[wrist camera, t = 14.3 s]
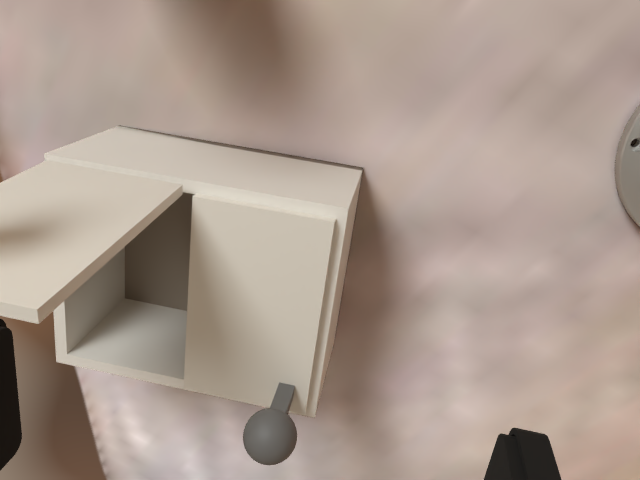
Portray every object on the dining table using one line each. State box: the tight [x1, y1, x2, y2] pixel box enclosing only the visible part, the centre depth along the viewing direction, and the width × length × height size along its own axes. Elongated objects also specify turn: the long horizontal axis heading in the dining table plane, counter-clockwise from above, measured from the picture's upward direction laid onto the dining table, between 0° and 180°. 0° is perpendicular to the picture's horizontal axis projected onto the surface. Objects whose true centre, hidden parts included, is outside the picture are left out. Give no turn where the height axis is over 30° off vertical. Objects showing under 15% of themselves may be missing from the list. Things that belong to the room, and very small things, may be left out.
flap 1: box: [0, 160, 183, 324], centre depth 25 cm, size 8×13×6 cm
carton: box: [44, 126, 363, 418], centre depth 39 cm, size 18×15×9 cm
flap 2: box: [184, 193, 336, 465], centre depth 32 cm, size 8×13×6 cm, turn 172°
